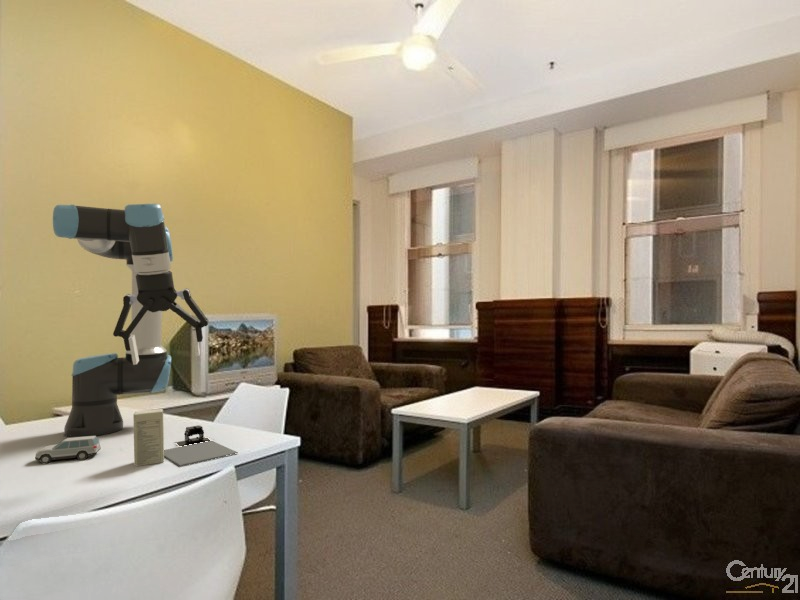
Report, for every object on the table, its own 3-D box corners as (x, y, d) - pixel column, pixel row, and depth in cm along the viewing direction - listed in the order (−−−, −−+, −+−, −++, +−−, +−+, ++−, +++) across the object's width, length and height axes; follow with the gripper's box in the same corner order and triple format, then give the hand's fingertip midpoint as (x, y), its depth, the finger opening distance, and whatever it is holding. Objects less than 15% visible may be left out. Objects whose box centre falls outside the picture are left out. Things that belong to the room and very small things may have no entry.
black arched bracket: (173, 450, 123) (174, 433, 124) (166, 445, 129) (166, 428, 129) (221, 442, 132) (221, 425, 132) (212, 437, 137) (212, 421, 137)
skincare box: (164, 458, 115) (164, 408, 115) (163, 462, 111) (164, 411, 112) (134, 461, 112) (134, 410, 113) (132, 466, 108) (133, 413, 109)
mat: (157, 452, 119) (157, 451, 119) (211, 442, 129) (211, 440, 129) (180, 466, 108) (180, 465, 108) (237, 453, 118) (237, 452, 118)
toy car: (41, 459, 116) (41, 438, 116) (101, 453, 120) (101, 433, 121) (32, 465, 110) (32, 444, 111) (95, 459, 115) (96, 439, 115)
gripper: (86, 279, 100) (104, 371, 105) (210, 269, 108) (221, 356, 113) (96, 274, 107) (113, 361, 112) (212, 265, 115) (223, 346, 120)
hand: (167, 358), depth 113 cm, fingers open, 13 cm apart
